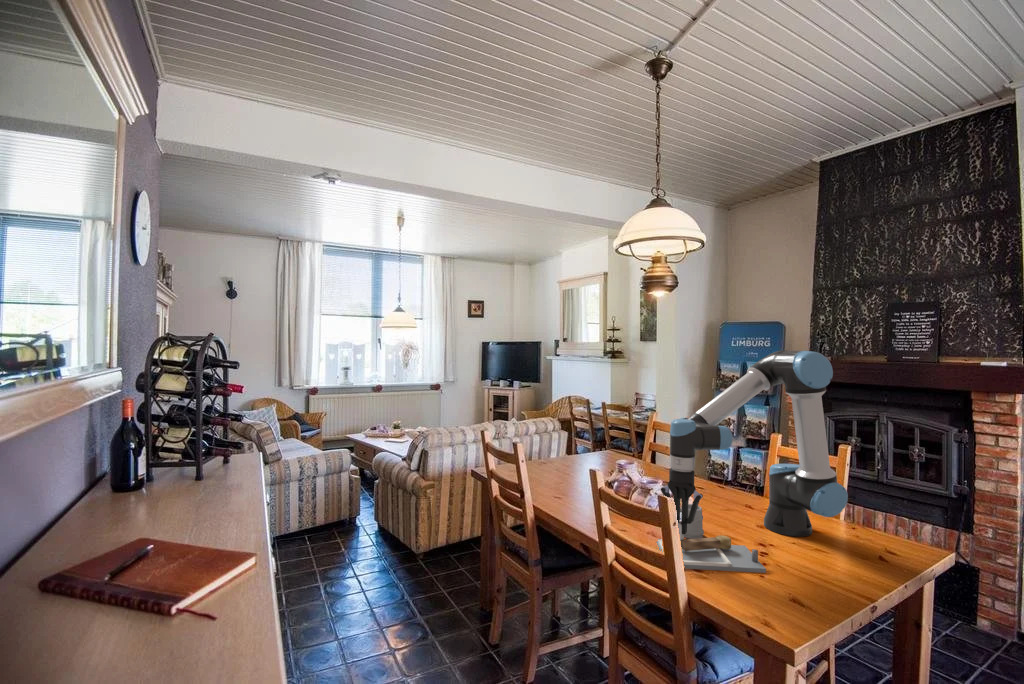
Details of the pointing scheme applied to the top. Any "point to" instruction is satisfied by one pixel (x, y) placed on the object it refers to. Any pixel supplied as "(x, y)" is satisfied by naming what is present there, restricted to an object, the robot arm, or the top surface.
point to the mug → (695, 524)
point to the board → (722, 559)
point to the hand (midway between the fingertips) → (680, 543)
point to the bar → (706, 543)
